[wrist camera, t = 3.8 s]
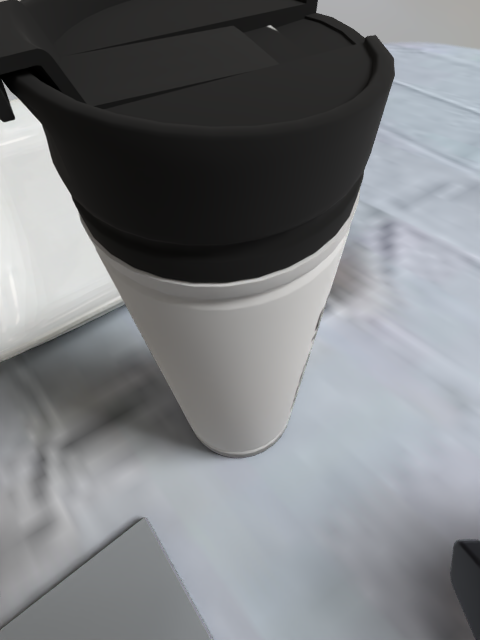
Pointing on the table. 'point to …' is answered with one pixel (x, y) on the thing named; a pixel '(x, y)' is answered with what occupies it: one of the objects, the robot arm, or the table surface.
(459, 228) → the table surface
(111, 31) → the travel mug
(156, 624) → the stone coaster
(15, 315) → the square plate
